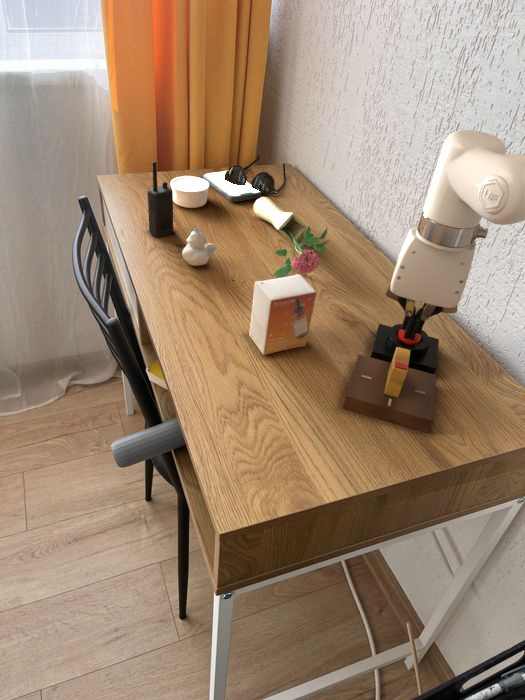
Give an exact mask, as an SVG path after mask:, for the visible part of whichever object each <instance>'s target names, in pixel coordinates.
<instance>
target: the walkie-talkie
mask: <svg viewBox="0 0 525 700" xmlns="http://www.w3.org/2000/svg"><path fill="white" fill-rule="evenodd" d="M151 164H152V165H151V167H152V168H151V169H152V187H151V188H148V190H147V211H148V232H149V233H150V234H151V235H153V236H155V237H162V236H165V235H168V234H172V233H173V232H174V201H173V190H172V187H169V186H168V182H167V181H163V182H162V185H159V186H158V171H157V170H158V168H157V167H158V165H157V164H158V163H157V161H155V160H154V161H152V162H151Z"/></svg>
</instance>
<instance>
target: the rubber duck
mask: <svg viewBox="0 0 525 700" xmlns="http://www.w3.org/2000/svg"><path fill="white" fill-rule="evenodd" d="M185 241H186V242H187V244H186V245H185V247H184V248H183V249H182V252H181V255H182V258H183V259H184V261H185V262H186V263H187V264H189V265H190V266H193V267H194V266H195V267H199V266H204V265H207V263H208V261H209V260H210V259H212V258H215V256H216V250H217V245H216V244H215V243H212V242H211V243H207V237H206V236H205V234H204V233H203V232H202V231H201V230H199V228H197V226H196V225H195V226H194V229H193V230H192V231H191V232H190V234H189V236H188V237H187V238H186V240H185ZM206 243H207V244H206Z"/></svg>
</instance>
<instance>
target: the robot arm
mask: <svg viewBox="0 0 525 700" xmlns="http://www.w3.org/2000/svg"><path fill="white" fill-rule="evenodd" d="M428 188H429V189H428V192H427V195H426V198H425V201H424V205H423V206H422V207H423V208H422V211H421V214H420V218H419V221H418V224H416V225H412V227H411V228H410V230H409V231H408V233H407V235H406V237H405V240H404V242H403V243H402V247H401V249H400V252H399V255H398V257H397V259H396V262H395V266H394V269H393V271H392V276H391V281H390V283H389V285H388V286H387V288H386V290H385V297H387V298H389V299H391V300H393V301H397V302H398V304H399V305H400V307H401V308H402V310H403V312H404V317H403V320H402V323H401V324H402V327H401V329H402V330H405V332H404V338H406V339H407V338H410V340H414V338H415V335H416V333H418V334H420V333H421V331H422V330H423V328H424V325H425V322H427V321H428V320H429V319H430V318H432V317H435V316H436V315H439V314H441V313H443V314H456V313H457V312H458V309H459V308H458V307H459V306H458V305H459V303H460V301H461V300H462V297H463V294H464V291H465V288H466V285H467V282H468V279H469V276H470V272H471V269H472V265H473V260H474V256H475V252H476V246H477V241H476V240H477V239H486V238H487V236H488V233H489V228H485V227H483V226H481V221H482V218H483V219H484V220H486V221H487V222H490V223H491V224H494V225H498V226H510V225H515V224H517V223H521V222H525V152H522V153H511V154H509V153H508V154H507V147H506V144H505V143H504V141H503V140H502V139H501V138H499V137H497V136H495V135H493V134H491V133H488V132H484V131H480V130H474V129H460V130H455V131H453V132H451V133H450V134H449V135H448V136H447V137H446V138H445V140H444V142H443V144H442V147H441V151H440V154H439V157H438V160H437V163H436V166H435V169H434V172H433V176H432V179H431V182H430V185H429V187H428ZM416 302H419V303H422V306H421V307H420V308H419V309H417V307H416ZM409 335H410V337H409Z"/></svg>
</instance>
